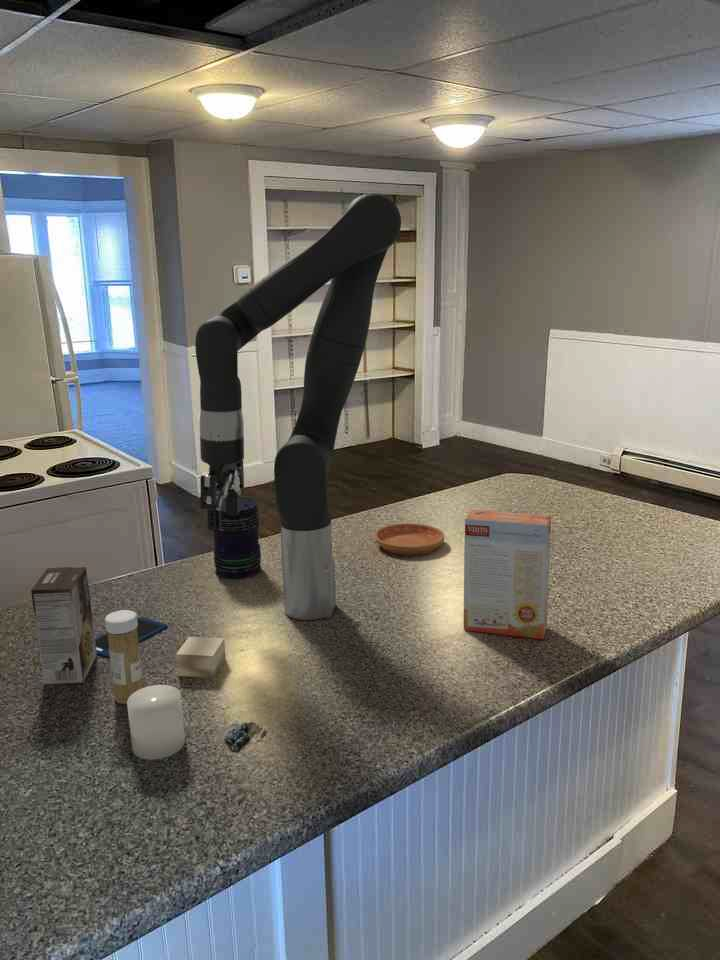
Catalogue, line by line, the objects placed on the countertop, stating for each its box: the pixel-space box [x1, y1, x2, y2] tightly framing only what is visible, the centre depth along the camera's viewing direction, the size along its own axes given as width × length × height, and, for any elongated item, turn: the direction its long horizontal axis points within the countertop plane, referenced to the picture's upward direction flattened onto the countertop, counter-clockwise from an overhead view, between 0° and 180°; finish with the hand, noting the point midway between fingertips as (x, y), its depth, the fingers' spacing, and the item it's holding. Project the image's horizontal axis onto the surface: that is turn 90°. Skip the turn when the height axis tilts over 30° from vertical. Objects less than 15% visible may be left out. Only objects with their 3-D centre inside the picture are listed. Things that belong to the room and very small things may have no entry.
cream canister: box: [126, 684, 186, 761], centre depth 106 cm, size 7×7×7 cm
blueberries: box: [219, 722, 267, 753], centre depth 107 cm, size 7×8×2 cm
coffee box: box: [30, 566, 98, 685], centre depth 125 cm, size 9×6×16 cm
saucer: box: [374, 523, 445, 556], centre depth 180 cm, size 16×16×3 cm
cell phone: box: [95, 616, 169, 659], centre depth 138 cm, size 7×14×1 cm, turn 148°
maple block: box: [175, 636, 227, 679], centre depth 126 cm, size 6×6×4 cm
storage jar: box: [211, 496, 262, 581], centre depth 165 cm, size 10×10×15 cm
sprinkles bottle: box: [104, 609, 144, 705], centre depth 117 cm, size 5×5×13 cm
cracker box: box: [463, 509, 552, 640], centre depth 135 cm, size 14×6×21 cm, turn 71°
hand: (224, 522), depth 141 cm, fingers open, 8 cm apart
